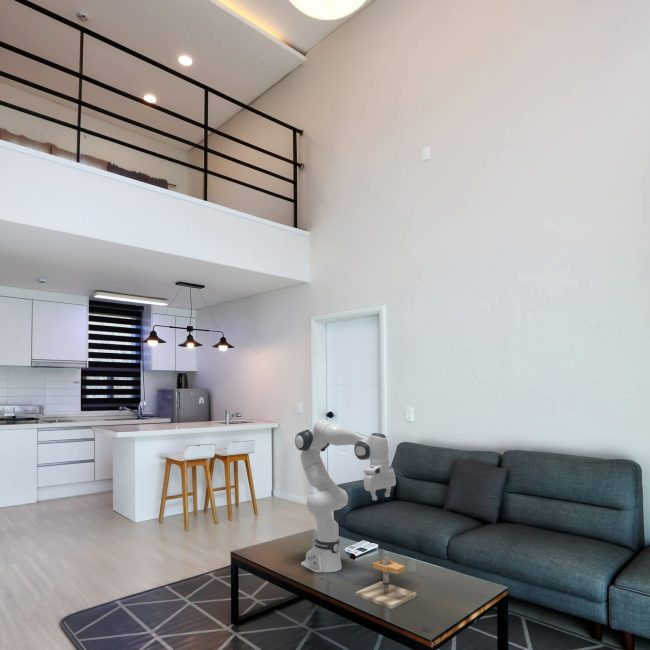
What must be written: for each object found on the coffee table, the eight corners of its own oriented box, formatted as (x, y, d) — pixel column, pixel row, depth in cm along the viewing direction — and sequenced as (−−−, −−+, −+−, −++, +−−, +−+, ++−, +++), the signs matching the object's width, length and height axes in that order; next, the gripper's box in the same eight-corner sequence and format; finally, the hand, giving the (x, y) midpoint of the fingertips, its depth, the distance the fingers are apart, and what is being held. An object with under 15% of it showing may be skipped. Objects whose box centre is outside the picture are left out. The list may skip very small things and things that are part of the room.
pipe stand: (356, 595, 224) (355, 555, 226) (381, 584, 236) (380, 546, 239) (391, 609, 210) (391, 566, 212) (416, 596, 223) (415, 556, 225)
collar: (373, 567, 225) (373, 563, 225) (384, 563, 230) (384, 558, 231) (395, 574, 216) (395, 570, 216) (406, 570, 222) (406, 565, 222)
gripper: (387, 465, 248) (389, 494, 246) (361, 470, 233) (362, 501, 231) (398, 466, 243) (399, 495, 241) (371, 471, 229) (372, 502, 227)
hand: (381, 498), depth 236 cm, fingers open, 8 cm apart
